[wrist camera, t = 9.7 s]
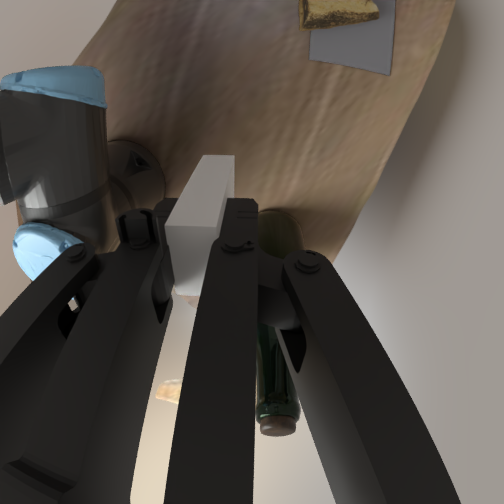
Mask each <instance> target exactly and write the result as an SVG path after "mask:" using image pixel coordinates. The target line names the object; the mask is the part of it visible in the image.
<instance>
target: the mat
mask: <svg viewBox="0 0 504 504" xmlns="http://www.w3.org/2000/svg"><path fill="white" fill-rule="evenodd" d="M372 1H373V3H375V4H376V6H377V7H378V10H379V14H380V15H379V19H377V20H372V21H368V22H362V23H359V24H352V25H345V26H338V27H333V28H330V29H316V30H311V36H310V49H309V60H315V61H322V62H328V63H334V64H340V65H345V66H350V67H355V68H359V69H364V70H368V71H373V72H377V73H381V74H384V75H388V76H390V68H391V58H392V48H393V35H394V19H395V0H372Z"/></svg>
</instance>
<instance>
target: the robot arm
mask: <svg viewBox="0 0 504 504" xmlns="http://www.w3.org/2000/svg"><path fill="white" fill-rule="evenodd" d="M0 90H1V91H0V205H1V206H3V205H6V204H8V203H10V202H12V201H14V200H17V201H18V205H19V208H20V212H21V216H22V219H23V224H22V225H20V227H19V228H18V229H17V231H16V234H15V236H14V240H13V251H14V255H15V257H16V259H17V262H18V263H19V265H20V267H21V268H22V269H23V271H24V272H25V273H26V274H27V276H28V277H29V278H30V279H31V280H32V281H33V282H32V283H31V284H30V285H29V286H28V287H27V288H26V289H25V290H24V291H23V292H22V293H21V294H20V295H19V296H18V298H17V299H16V300H15V301H14V302H13V303H12V304H11V305H10V306H9V308H8V309H7V310H6V311H5V312H4V313H3V314H2V315H1V317H0V504H130V493H131V487H132V481H133V475H134V469H135V463H136V458H137V452H138V447H139V442H140V437H141V432H142V427H143V423H144V418H145V413H146V409H147V404H148V400H149V395H150V391H151V387H152V383H153V378H154V374H155V370H156V366H157V362H158V358H159V354H160V351H161V347H162V343H163V339H164V336H165V332H166V328H167V325H168V321H169V317H170V314H171V310H172V307H173V300H172V295H171V291H172V288H173V285H175V290H176V295H190V296H200V298H199V303H198V307H197V312H196V317H195V322H194V327H193V331H192V336H191V341H190V346H189V351H188V356H187V361H186V366H185V372H184V377H183V382H182V388H181V393H180V399H179V404H178V410H177V417H176V422H175V428H174V435H173V440H172V447H171V453H170V460H169V467H168V474H167V481H166V489H165V497H164V503H163V504H253V480H254V444H255V404H256V358H257V322H259V323H263V324H266V325H269V326H272V327H275V331H276V334H277V337H278V340H279V343H280V346H281V349H282V352H283V354H284V357H285V360H286V363H287V366H288V369H289V372H290V374H291V377H292V380H293V383H294V386H295V389H296V392H297V394H298V397H299V400H300V403H301V406H302V409H303V412H304V414H305V417H306V420H307V423H308V426H309V429H310V431H311V434H312V437H313V440H314V443H315V446H316V448H317V451H318V454H319V457H320V459H321V462H322V465H323V468H324V471H325V474H326V477H327V479H328V482H329V485H330V488H331V491H332V494H333V496H334V499H335V502H336V504H461V503H460V500H459V497H458V495H457V493H456V490H455V488H454V485H453V483H452V481H451V479H450V476H449V474H448V472H447V470H446V467H445V465H444V463H443V461H442V459H441V456H440V454H439V452H438V450H437V448H436V446H435V444H434V442H433V440H432V438H431V436H430V434H429V431H428V429H427V427H426V425H425V423H424V421H423V419H422V418H421V416H420V414H419V412H418V410H417V408H416V406H415V404H414V402H413V400H412V398H411V396H410V395H409V393H408V391H407V389H406V387H405V385H404V383H403V382H402V380H401V378H400V376H399V374H398V373H397V371H396V369H395V367H394V365H393V364H392V362H391V360H390V358H389V357H388V355H387V353H386V351H385V350H384V348H383V346H382V344H381V343H380V341H379V339H378V338H377V336H376V334H375V333H374V331H373V329H372V328H371V326H370V324H369V323H368V321H367V319H366V318H365V316H364V315H363V313H362V311H361V310H360V308H359V306H358V305H357V303H356V302H355V300H354V298H353V297H352V295H351V294H350V292H349V290H348V289H347V287H346V286H345V284H344V282H343V281H342V279H341V278H340V276H339V275H338V273H337V272H336V270H335V268H334V267H333V265H332V264H331V262H330V261H329V260H328V259H327V258H326V257H325V256H323V255H322V254H320V253H318V252H315V251H311V250H297V251H293V252H291V253H289V254H288V255H286V256H285V258H284V259H281V258H277V257H274V256H271V255H269V254H267V253H265V252H264V251H263V250H262V249H261V248H260V246H259V244H258V204H257V203H256V202H255V200H254V199H249V198H234V155H203V156H202V158H201V160H200V161H199V163H198V165H197V167H196V168H195V170H194V172H193V174H192V175H191V177H190V179H189V181H188V182H187V184H186V186H185V188H184V190H183V191H182V193H181V195H180V197H179V198H165V199H164V195H165V179H164V175H163V172H162V169H161V167H160V165H159V163H158V162H157V160H156V159H155V158H154V156H153V155H152V154H151V153H150V152H149V151H148V150H146V149H145V148H144V147H142V146H140V145H138V144H136V143H133V142H130V141H124V140H117V141H111V142H108V143H107V128H106V109H107V104H106V101H105V88H104V77H103V75H102V73H101V72H100V71H99V70H98V69H97V68H94V67H91V66H55V67H45V68H38V69H31V70H27V71H22V72H19V73H12V74H9V75H6V76H5V77H3V78H2V80H1V83H0ZM71 299H74V300H75V302H76V304H77V306H78V307H77V308H76V309H75V310H73V311H71V309H70V307H69V305H68V302H69V301H70V300H71Z"/></svg>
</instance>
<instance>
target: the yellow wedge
mask: <svg viewBox="0 0 504 504" xmlns="http://www.w3.org/2000/svg"><path fill="white" fill-rule="evenodd" d="M298 11H299V17H300V27H299V30H300V31H305V30H316V29H330V28H333V27H338V26H345V25H352V24H359V23H362V22H368V21H372V20H377V19H379V15H380V14H379V10H378V7H377V6H376V4H375V3H373V1H372V0H299V9H298Z"/></svg>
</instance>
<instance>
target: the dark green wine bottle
mask: <svg viewBox="0 0 504 504" xmlns="http://www.w3.org/2000/svg"><path fill="white" fill-rule="evenodd" d="M258 244H259V246H260V248H261V249H262V250H263V251H264V252H265V253H267V254H269V255H271V256H274V257H277V258H281V259H284V258H285V256H286V255H288V254H289V253H291V252H293V251H297V250H306V248H305V243H304V238H303V234H302V230H301V227H300V226H299V224H298V222H297V221H296V220H295V219H294V218H293V217H291V216H290V215H288V214H286V213H283V212H280V211H273V210H272V211H264V212H260V213H258ZM300 413H301V408H300V404H299V397H298V394H297V392H296V389H295V386H294V383H293V380H292V377H291V374H290V372H289V369H288V366H287V363H286V360H285V357H284V354H283V352H282V349H281V346H280V343H279V340H278V337H277V334H276V331H275V327H272V326H269V325H266V324H263V323H259V322H257V358H256V405H255V417H256V421H257V422H258V423H259V424H260V431H261V433H262V434H264V435H267V436H286V435H289V434H292V433H294V432H295V430H296V422H297V421H298V420H299V418H300Z"/></svg>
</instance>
